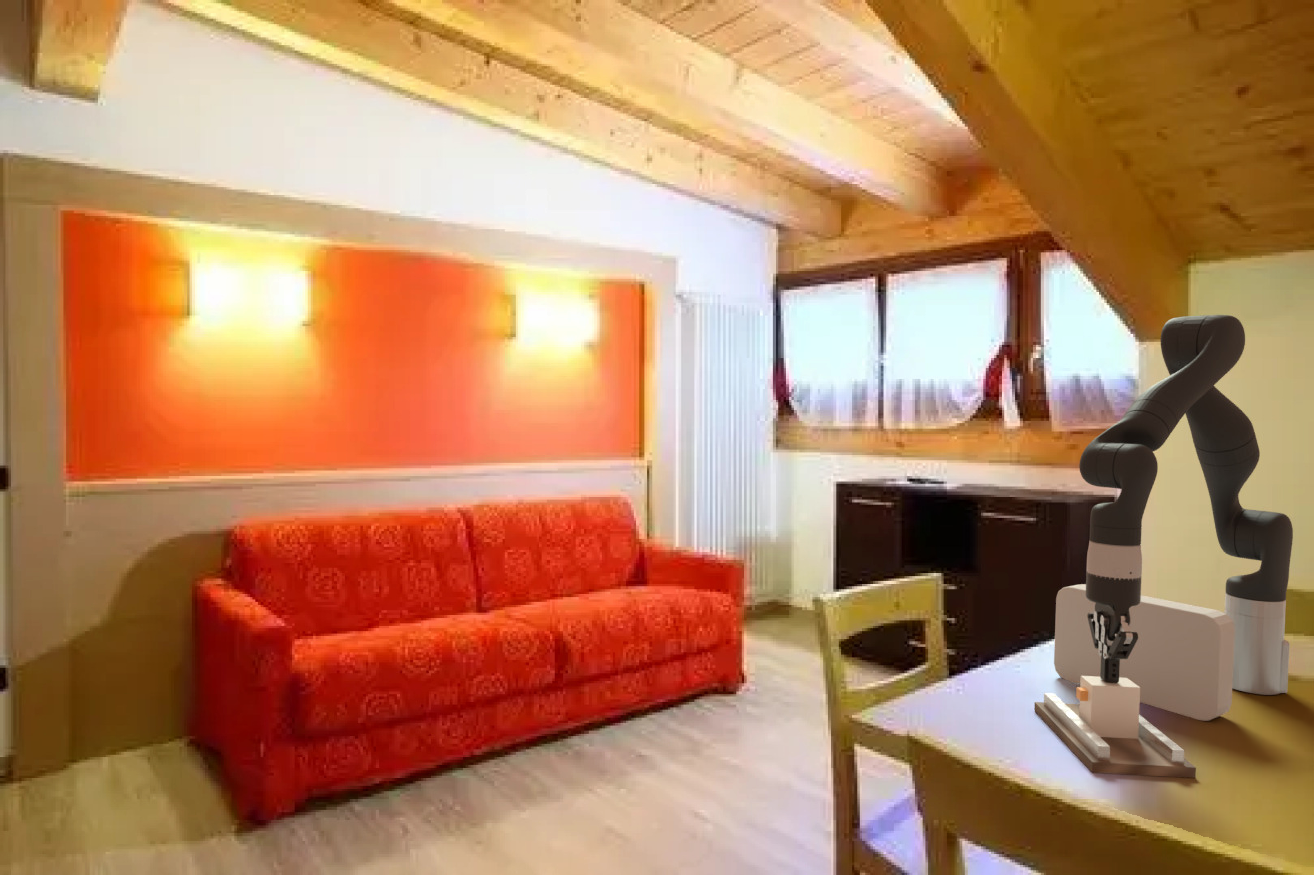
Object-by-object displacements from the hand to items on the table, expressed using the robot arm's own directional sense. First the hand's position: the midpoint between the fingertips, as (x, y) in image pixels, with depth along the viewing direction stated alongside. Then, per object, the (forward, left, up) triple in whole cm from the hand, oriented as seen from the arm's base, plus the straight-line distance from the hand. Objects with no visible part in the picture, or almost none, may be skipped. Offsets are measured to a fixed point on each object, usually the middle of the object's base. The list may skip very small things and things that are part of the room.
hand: (1109, 681), depth 131 cm
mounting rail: (0, 0, -8) cm, 8 cm away
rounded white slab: (-14, -22, -10) cm, 28 cm away
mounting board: (0, 0, -10) cm, 10 cm away
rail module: (0, 0, -8) cm, 8 cm away
